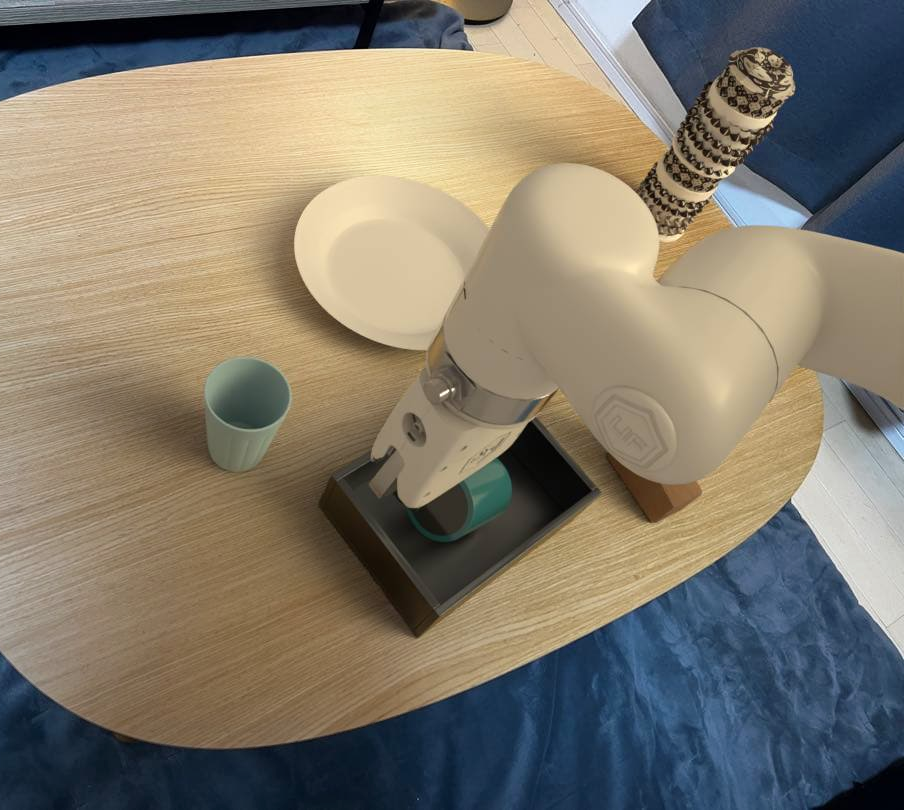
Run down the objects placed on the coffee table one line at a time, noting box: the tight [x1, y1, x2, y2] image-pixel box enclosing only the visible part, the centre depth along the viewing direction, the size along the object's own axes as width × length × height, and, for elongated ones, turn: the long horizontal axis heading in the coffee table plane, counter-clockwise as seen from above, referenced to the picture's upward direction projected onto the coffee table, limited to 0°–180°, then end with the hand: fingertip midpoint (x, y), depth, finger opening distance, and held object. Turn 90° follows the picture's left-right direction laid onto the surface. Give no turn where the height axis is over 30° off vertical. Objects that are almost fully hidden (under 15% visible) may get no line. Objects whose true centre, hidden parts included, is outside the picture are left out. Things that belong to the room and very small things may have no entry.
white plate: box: [293, 175, 491, 351], centre depth 97 cm, size 25×25×4 cm
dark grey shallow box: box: [317, 416, 603, 639], centre depth 81 cm, size 16×22×7 cm
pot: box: [406, 458, 512, 542], centre depth 79 cm, size 7×7×8 cm
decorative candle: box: [634, 46, 796, 244], centre depth 103 cm, size 9×9×25 cm
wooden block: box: [605, 451, 703, 524], centre depth 84 cm, size 9×4×18 cm, turn 28°
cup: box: [203, 355, 293, 473], centre depth 78 cm, size 8×8×10 cm
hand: (408, 492), depth 63 cm, fingers closed
